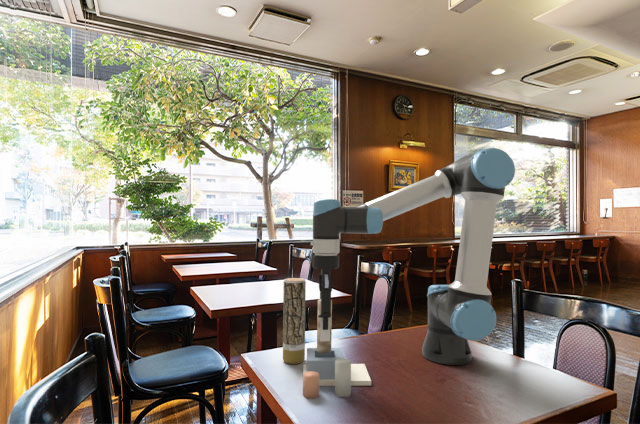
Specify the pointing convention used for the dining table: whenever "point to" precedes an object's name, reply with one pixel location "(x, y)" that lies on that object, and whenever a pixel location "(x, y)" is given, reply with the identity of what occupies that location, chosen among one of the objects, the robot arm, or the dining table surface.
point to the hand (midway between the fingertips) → (324, 338)
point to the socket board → (355, 376)
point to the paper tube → (294, 320)
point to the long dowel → (321, 345)
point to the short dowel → (311, 384)
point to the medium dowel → (342, 377)
